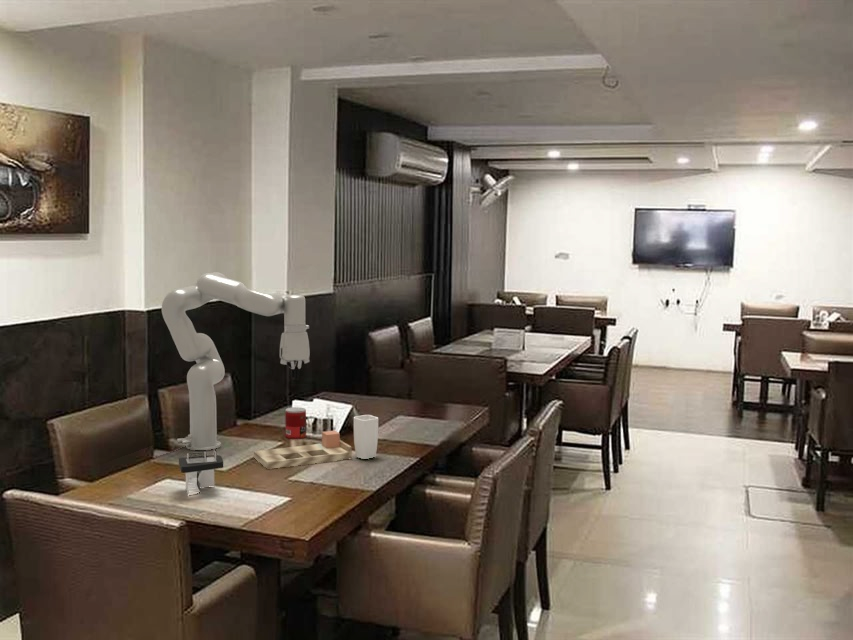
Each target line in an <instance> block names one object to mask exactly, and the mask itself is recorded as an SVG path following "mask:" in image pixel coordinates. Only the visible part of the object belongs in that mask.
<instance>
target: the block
mask: <svg viewBox="0 0 853 640" xmlns="http://www.w3.org/2000/svg"><path fill="white" fill-rule="evenodd" d="M340 434H341V433H339V432H338V431H336V430H328V431H322V432H321V444H322V446H324V447H325V448H336V447H340V440H341V438H340V437H341V435H340Z"/></svg>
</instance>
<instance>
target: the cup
mask: <svg viewBox="0 0 853 640" xmlns="http://www.w3.org/2000/svg"><path fill="white" fill-rule="evenodd" d="M378 442H379V417H378V416H374V415H372V414H363V415H357V416H353V444H354V451H355V457H356V458H357V457H358V458H357V459H359V458H361V459H360V460H362V459H368V460H370V459H369V458H373V457H375V458H377V457H376V456H377V449H378ZM373 459H374V458H373Z"/></svg>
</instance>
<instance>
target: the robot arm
mask: <svg viewBox="0 0 853 640" xmlns="http://www.w3.org/2000/svg"><path fill="white" fill-rule="evenodd" d="M213 300H217V301H221V302H224V303H228V304H232V305H234V306H237V308H240V309H242V310H245V311H247V312H250V313H253V314H257V315H259V316H260V315H261V316H265V317H272V316H275V315H280V314H283V316H284V319H283V320H284V323H283V324H284V325H283V326H284V327H283V328H284V330H283V332H282V333H281V335H280V343H279V359H280V362H279V363H280V364H281V365H284V366H285V365H286V366H287V367H289V368H290V369H289V370H290V371H289V372H290V378H291V379H292V380H293V381H296V380H297V381H299V380H300V377H301V368H302V367H303V365H304V364H308V363H310V362H311V361H310V353H311V352H310V351H311V350H310V340H309V336H308V332H307V330H308V329H310V325H308V324H306V298H305V296H304V295H303V294H295V293H294V294H284V293H280V292H275V293H270V294H269V293H268V294H264V293H261V292H258V291H254V290H252V289H249V288H247V287H246V285H245V284H244V283H243V282H242V281H239V280H235V279H232V278H228V277H227V276H226V275H225V274H223V273H222V272H217V271H213V272H206V273H203V274H201V275H200V276H199V277H198V279H197V281H196V282H195V283H194V284H191V285H190V286H185V287H184V286H183V287H178V288H174V289H172V290H171V291H170V292H168V293H167V294H166V295H165V297H164V298H163V299H162V303H161V314H162V318H163V320H164V322H165V324H166V326H167V328H168V330H169V332H170V333H169V334H170V335H171V338H172V340H173V342H174V344H175V346H176V349H177V351H178V353H179V355H180V358H182V360H184V361H186V362H196V364H193V365H192V366H191V367H190V369H189V370H188V371H187V375H186V384H187V388H188V397H189V401H188V402H189V434H187V436H185V437H184V438H183V437H180V438H177V439H176V444H179V445H180V444H182V445H185V448H186V449H187V450H189V449H190V451H195V450H206V451H211V449H213V450H214V447H215V449H216V448H217V449H220V448H221V446H222V443H221V441H220V440H217V439H218V438H217V434H218V433H217V428H218V427H217V397H216V390H215V388H214V387H215V386H214V385H217V384H218V383H220V382H222V380H223V379H224V377H225V375H226V373H225V371H226V370H225V366H224V363H223V361H222V358H221V357H220V354H219V352H218V349H217V347H216V345H215V342H214V341H213V340H212V339H211V337H210V336H209V335H207V334H205V333H202V332H197V331H196V329H195V326H194V324H193V322H192V321H191V319H190V318H189V316H188V315H187V313H186V311H189V310H193V309H197V308H200V307H201V306H203V305H205V304H207V303H208V302H209V303H210V302H211V301H213Z"/></svg>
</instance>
